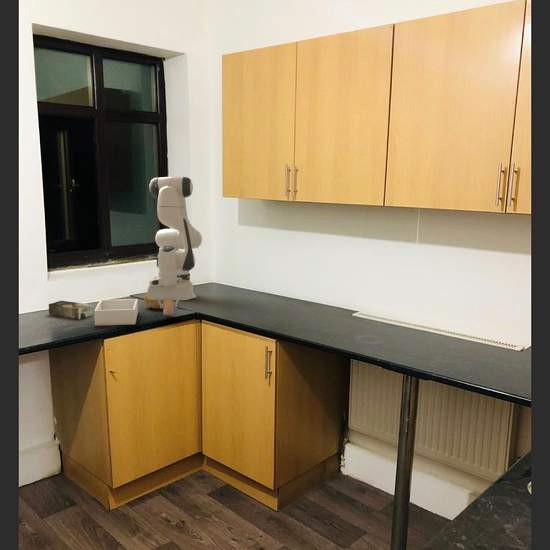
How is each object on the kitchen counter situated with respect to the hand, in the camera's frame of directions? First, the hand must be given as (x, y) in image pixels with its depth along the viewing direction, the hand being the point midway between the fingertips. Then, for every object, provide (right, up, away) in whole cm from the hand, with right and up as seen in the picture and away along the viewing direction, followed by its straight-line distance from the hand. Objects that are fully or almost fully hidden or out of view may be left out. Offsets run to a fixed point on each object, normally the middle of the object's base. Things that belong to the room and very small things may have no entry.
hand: (168, 307), depth 270 cm
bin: (-24, -5, -4) cm, 25 cm away
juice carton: (-48, -4, +2) cm, 48 cm away
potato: (-10, -2, +18) cm, 20 cm away
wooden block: (0, -3, +1) cm, 3 cm away
